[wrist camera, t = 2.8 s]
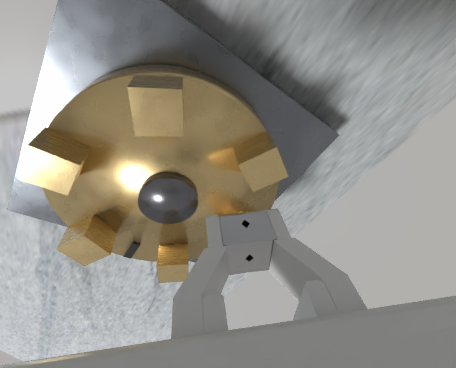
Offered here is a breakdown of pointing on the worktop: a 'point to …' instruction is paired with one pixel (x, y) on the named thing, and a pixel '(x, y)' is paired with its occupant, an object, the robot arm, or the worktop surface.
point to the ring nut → (152, 165)
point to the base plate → (154, 55)
